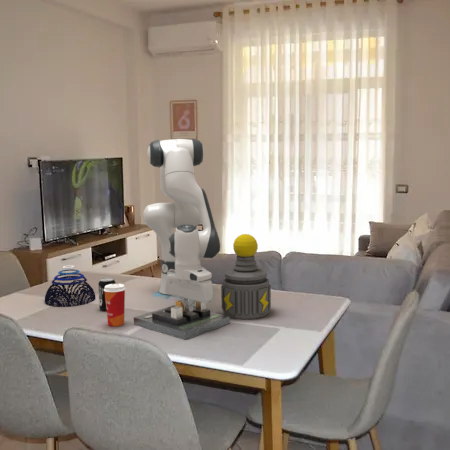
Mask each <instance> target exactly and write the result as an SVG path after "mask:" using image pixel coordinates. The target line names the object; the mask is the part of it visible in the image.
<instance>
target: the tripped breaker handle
mask: <svg viewBox="0 0 450 450" xmlns="http://www.w3.org/2000/svg"><path fill="white" fill-rule="evenodd" d="M175 305H176V306H179V307H182V312H183V311H186V310H184V305H183V303H182V301H181V299H178V300H175Z"/></svg>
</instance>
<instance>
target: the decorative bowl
mask: <svg viewBox="0 0 450 450" xmlns="http://www.w3.org/2000/svg"><path fill="white" fill-rule="evenodd" d="M61 268H62V270H60V271H57V273H58V274H57V275H55V276H54V277H53V280H52V281H51V284H50V286H49V287H48V288H47V290H46V292H45V295H44V304H45V305H47V306H49V307H52V308H53V307H54V308H57V307H58V308H70V307H79V306H84V305H88V304H90V303H92V302H94V301H95V300H96V294H95V293H96V292H95V291H94V288H93V287H92V285H91V284H89V283H88V282H87V281H88V279H87V278H86V276H85V275H84V274H83V273H80V270H78V269H74V268H76V265H63V266H62V267H61ZM69 271H72V272H69ZM57 281H58V282H57ZM61 281H62V282H61ZM66 281H67V282H66ZM69 281H70V282H69ZM66 286H67V287H66ZM73 288H74V289H73ZM72 295H73V297H72ZM88 296H89V297H88ZM54 304H55V305H54Z"/></svg>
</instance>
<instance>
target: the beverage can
mask: <svg viewBox="0 0 450 450" xmlns="http://www.w3.org/2000/svg"><path fill="white" fill-rule="evenodd" d="M109 284H117V282H116V281H115V278H114V277H101V278H100V279H99V282H98V303H99V310H101V311H103V312H107V310H106V301H105V291H104V288H105V286H106V285H109Z"/></svg>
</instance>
